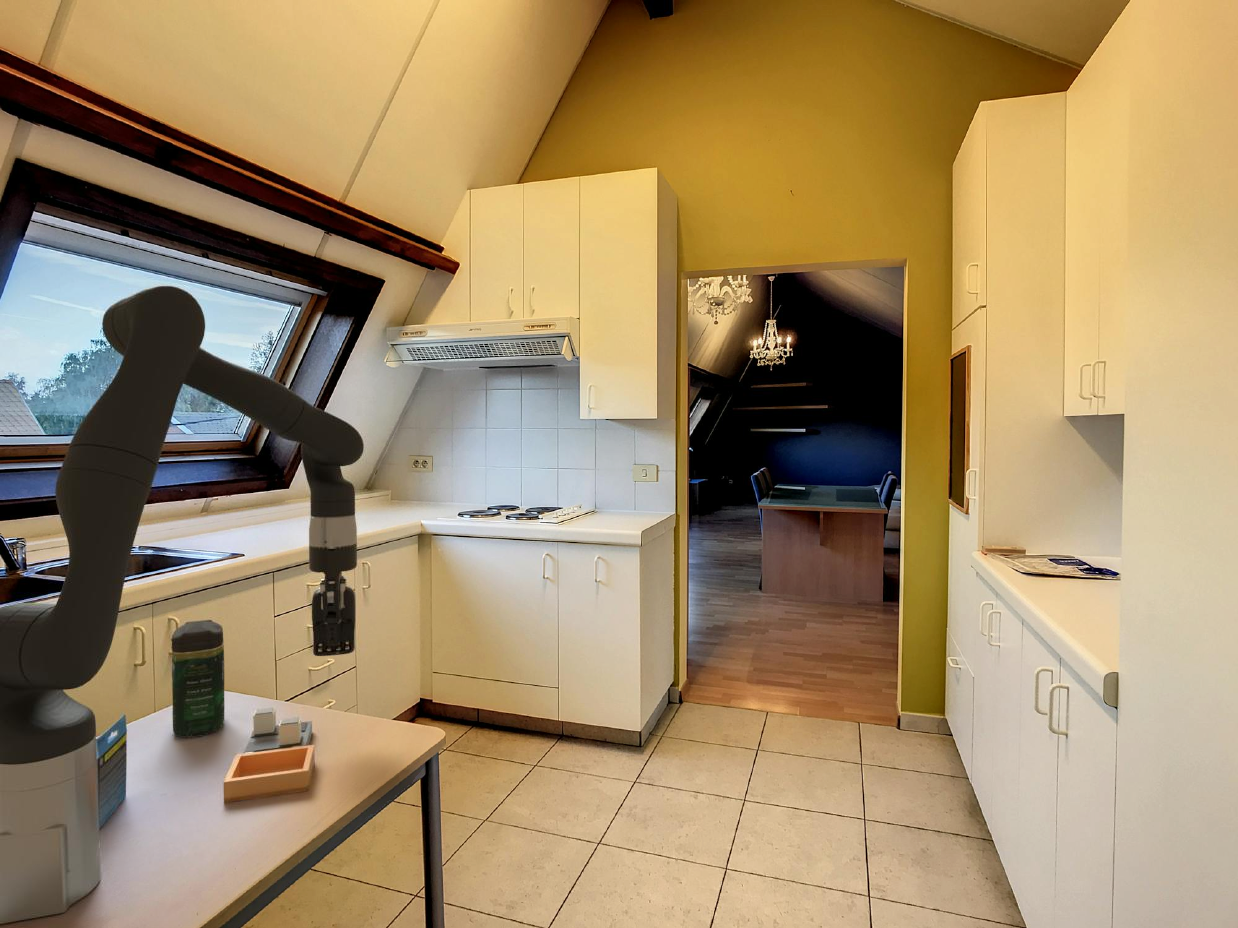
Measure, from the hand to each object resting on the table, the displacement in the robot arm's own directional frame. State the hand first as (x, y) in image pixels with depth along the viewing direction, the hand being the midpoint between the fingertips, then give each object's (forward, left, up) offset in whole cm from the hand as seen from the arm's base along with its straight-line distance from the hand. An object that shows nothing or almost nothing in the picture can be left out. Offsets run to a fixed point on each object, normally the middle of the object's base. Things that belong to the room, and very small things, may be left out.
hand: (333, 641), depth 118 cm
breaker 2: (-5, +6, -14) cm, 17 cm away
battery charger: (0, 0, -2) cm, 2 cm away
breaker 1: (+1, +11, -14) cm, 18 cm away
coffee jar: (+11, +23, -17) cm, 31 cm away
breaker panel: (-3, +8, -17) cm, 19 cm away
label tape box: (-16, +29, -17) cm, 37 cm away
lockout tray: (-13, +8, -17) cm, 23 cm away
